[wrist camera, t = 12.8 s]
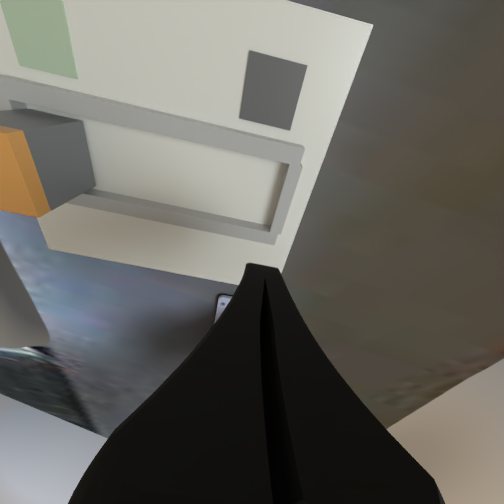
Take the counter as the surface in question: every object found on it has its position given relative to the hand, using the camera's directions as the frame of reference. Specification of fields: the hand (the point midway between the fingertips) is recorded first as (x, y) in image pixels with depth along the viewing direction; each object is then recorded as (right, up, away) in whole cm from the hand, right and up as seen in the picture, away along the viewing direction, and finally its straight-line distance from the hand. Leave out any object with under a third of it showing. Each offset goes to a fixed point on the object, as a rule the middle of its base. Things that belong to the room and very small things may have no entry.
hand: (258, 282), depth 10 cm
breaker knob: (-12, +8, +5) cm, 15 cm away
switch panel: (-6, +8, +7) cm, 12 cm away
